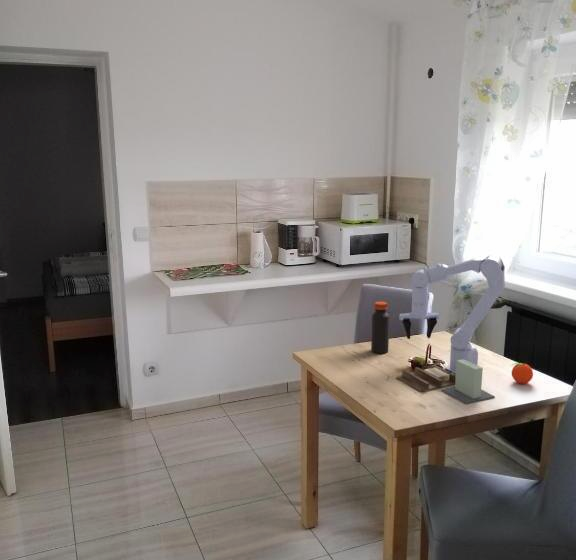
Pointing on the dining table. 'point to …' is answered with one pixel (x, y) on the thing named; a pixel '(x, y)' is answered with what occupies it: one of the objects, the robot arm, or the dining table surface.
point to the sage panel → (468, 378)
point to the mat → (464, 397)
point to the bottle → (380, 329)
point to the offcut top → (437, 373)
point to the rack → (425, 379)
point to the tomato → (522, 373)
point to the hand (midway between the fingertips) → (418, 337)
